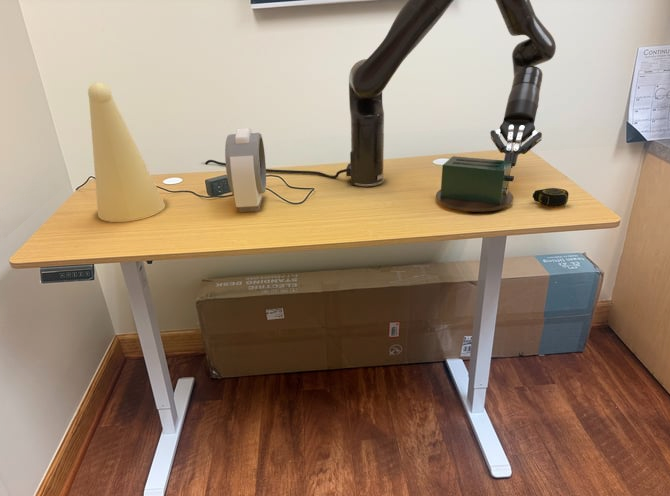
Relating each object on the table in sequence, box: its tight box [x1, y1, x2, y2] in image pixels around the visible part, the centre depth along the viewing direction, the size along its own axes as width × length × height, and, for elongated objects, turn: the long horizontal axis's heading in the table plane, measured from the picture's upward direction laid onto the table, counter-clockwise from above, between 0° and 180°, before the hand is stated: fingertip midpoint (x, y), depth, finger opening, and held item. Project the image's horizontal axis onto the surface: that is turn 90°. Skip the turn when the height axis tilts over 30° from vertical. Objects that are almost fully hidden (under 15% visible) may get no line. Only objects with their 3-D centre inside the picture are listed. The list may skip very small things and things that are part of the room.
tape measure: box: [532, 187, 569, 208], centre depth 131 cm, size 7×7×4 cm
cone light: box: [87, 81, 166, 223], centre depth 137 cm, size 25×18×35 cm
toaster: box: [435, 155, 515, 213], centre depth 135 cm, size 19×19×9 cm
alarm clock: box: [224, 127, 267, 213], centre depth 141 cm, size 18×8×20 cm, turn 179°
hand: (509, 166), depth 134 cm, fingers closed
